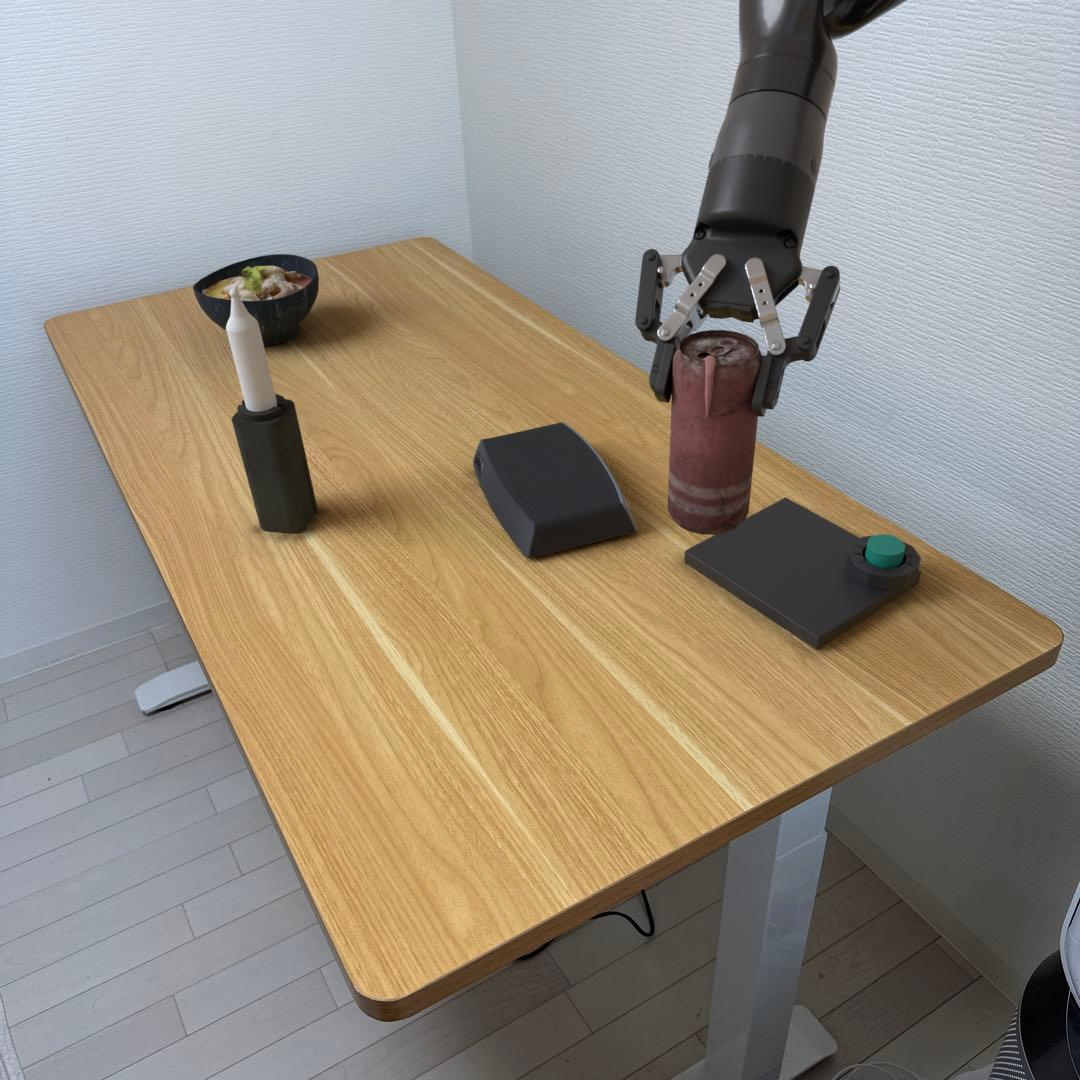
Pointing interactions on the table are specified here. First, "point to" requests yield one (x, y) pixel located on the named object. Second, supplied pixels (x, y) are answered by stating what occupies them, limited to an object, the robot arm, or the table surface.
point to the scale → (802, 571)
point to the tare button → (885, 551)
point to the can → (712, 430)
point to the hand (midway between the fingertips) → (708, 405)
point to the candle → (268, 433)
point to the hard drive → (551, 490)
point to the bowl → (263, 293)
